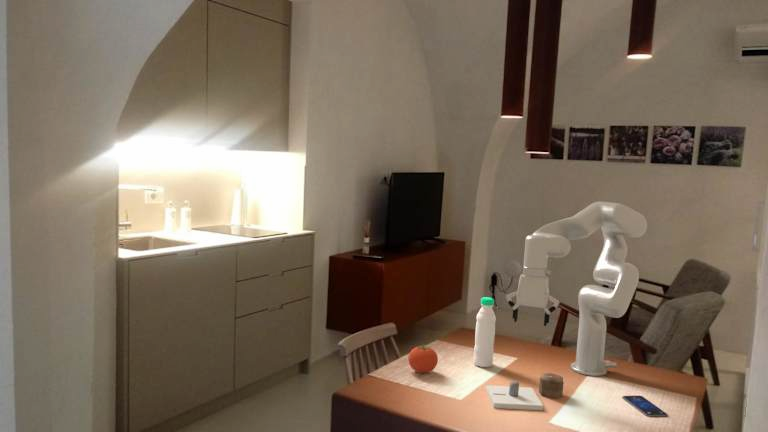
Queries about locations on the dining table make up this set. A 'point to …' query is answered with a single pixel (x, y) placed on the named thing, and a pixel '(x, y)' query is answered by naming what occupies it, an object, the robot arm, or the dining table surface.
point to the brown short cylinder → (551, 386)
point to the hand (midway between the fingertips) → (530, 322)
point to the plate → (513, 397)
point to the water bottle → (485, 334)
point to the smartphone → (645, 406)
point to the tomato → (423, 359)
